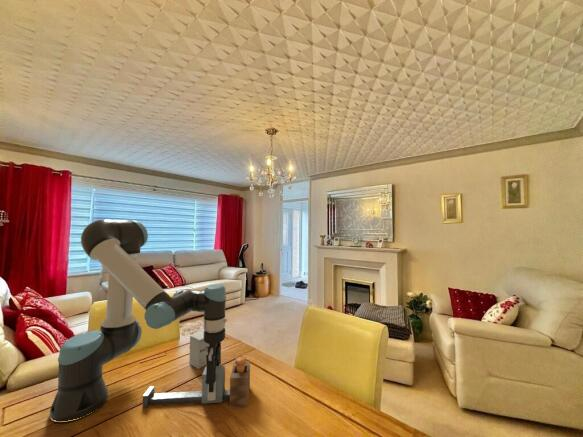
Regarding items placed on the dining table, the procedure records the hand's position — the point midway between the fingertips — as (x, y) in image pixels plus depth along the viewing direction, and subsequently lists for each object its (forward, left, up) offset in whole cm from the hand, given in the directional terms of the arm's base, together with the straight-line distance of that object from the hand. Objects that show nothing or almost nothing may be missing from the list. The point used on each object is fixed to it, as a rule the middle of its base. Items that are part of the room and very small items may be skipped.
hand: (213, 393), depth 89 cm
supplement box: (-11, +24, -2) cm, 26 cm away
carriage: (0, 0, -2) cm, 2 cm away
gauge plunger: (+10, 0, +5) cm, 11 cm away
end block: (+10, 0, -2) cm, 10 cm away
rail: (-8, 0, -2) cm, 8 cm away
